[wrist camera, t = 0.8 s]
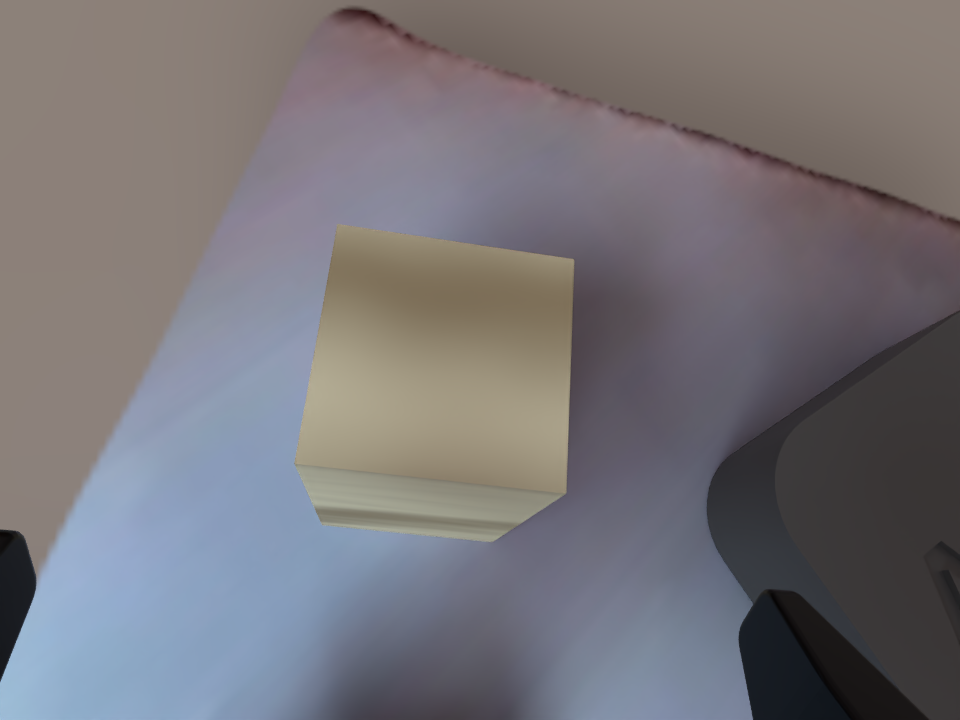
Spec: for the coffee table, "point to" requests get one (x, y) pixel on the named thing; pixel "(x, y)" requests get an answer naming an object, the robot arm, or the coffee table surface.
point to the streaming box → (863, 512)
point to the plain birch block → (438, 387)
